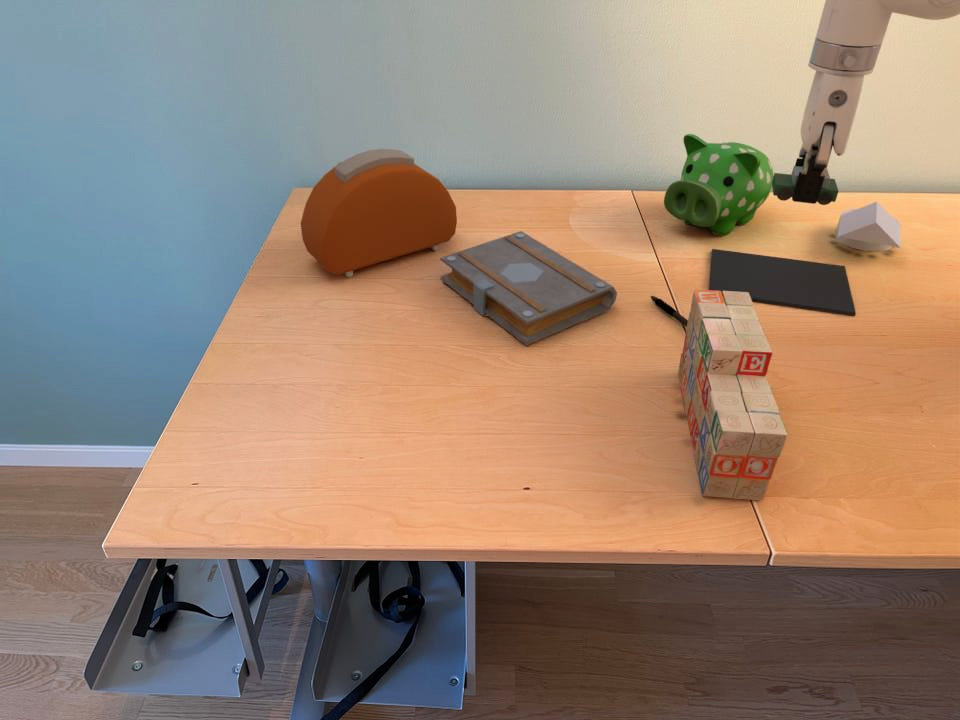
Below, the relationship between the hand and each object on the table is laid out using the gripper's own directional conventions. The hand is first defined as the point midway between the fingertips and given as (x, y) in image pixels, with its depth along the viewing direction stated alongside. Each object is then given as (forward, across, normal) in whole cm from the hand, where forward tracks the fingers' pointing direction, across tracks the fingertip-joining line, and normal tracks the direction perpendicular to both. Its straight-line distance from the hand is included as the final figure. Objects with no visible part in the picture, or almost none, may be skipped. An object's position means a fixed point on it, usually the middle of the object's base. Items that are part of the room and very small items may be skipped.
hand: (802, 193), depth 97 cm
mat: (+14, 0, 0) cm, 14 cm away
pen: (+14, -16, +13) cm, 25 cm away
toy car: (-1, +2, 0) cm, 3 cm away
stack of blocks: (+15, -37, +8) cm, 41 cm away
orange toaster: (+15, -9, +61) cm, 63 cm away
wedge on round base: (+14, +17, -14) cm, 26 cm away
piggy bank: (+15, +18, +10) cm, 25 cm away
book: (+15, -15, +36) cm, 41 cm away
